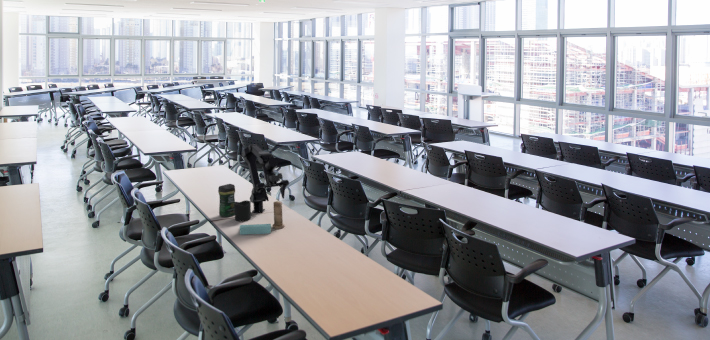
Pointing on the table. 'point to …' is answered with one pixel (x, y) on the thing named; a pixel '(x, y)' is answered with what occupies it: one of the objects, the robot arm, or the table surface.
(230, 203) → the coffee jar
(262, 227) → the notched board
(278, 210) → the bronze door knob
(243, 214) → the pen holder
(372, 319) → the table surface
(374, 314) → the table surface
